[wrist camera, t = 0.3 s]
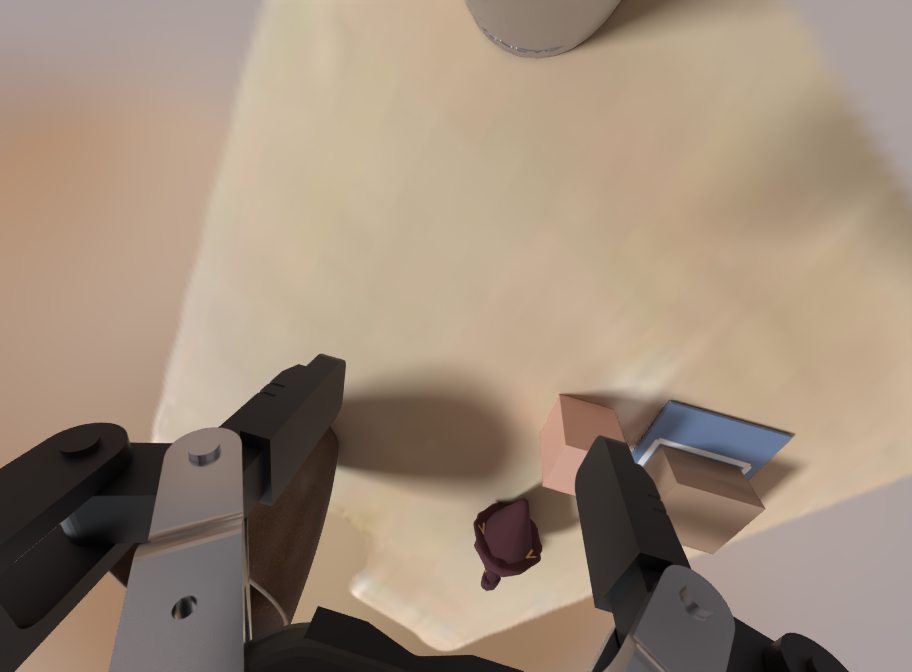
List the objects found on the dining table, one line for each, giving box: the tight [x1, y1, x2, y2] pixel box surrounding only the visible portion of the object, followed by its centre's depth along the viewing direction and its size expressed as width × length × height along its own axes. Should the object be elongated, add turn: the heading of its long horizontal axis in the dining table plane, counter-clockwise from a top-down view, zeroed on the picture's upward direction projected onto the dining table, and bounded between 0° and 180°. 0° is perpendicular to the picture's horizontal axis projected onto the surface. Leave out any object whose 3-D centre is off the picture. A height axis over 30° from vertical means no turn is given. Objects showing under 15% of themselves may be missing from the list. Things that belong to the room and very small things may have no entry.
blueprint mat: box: [631, 400, 792, 481], centre depth 33 cm, size 14×10×1 cm
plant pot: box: [108, 428, 338, 639], centre depth 33 cm, size 15×15×16 cm
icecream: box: [474, 498, 542, 591], centre depth 37 cm, size 7×7×15 cm
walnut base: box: [644, 445, 765, 554], centre depth 31 cm, size 7×7×4 cm
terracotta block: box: [540, 394, 625, 496], centre depth 30 cm, size 5×5×6 cm
